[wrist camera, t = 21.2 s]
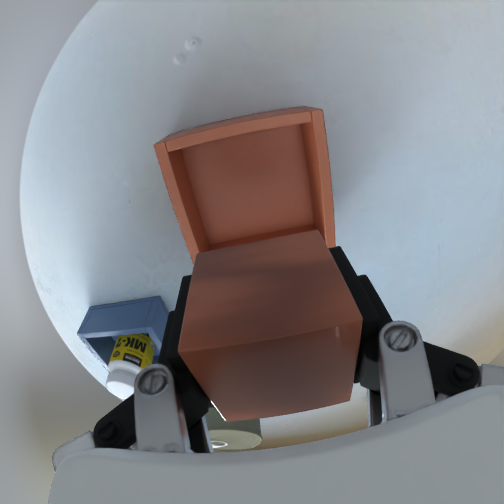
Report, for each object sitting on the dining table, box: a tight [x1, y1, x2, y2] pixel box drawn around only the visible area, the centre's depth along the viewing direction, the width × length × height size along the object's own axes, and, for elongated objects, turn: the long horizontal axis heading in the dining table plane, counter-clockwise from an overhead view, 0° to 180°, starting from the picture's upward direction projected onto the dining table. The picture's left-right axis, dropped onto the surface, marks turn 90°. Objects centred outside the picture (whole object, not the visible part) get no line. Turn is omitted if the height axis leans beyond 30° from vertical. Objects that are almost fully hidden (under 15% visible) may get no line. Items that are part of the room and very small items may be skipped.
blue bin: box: [77, 296, 169, 371], centre depth 30 cm, size 10×10×5 cm
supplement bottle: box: [106, 332, 156, 399], centre depth 28 cm, size 5×5×8 cm
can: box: [205, 407, 262, 451], centre depth 40 cm, size 12×12×7 cm
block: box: [178, 230, 363, 422], centre depth 9 cm, size 4×4×4 cm
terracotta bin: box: [154, 106, 336, 264], centre depth 21 cm, size 11×11×5 cm
